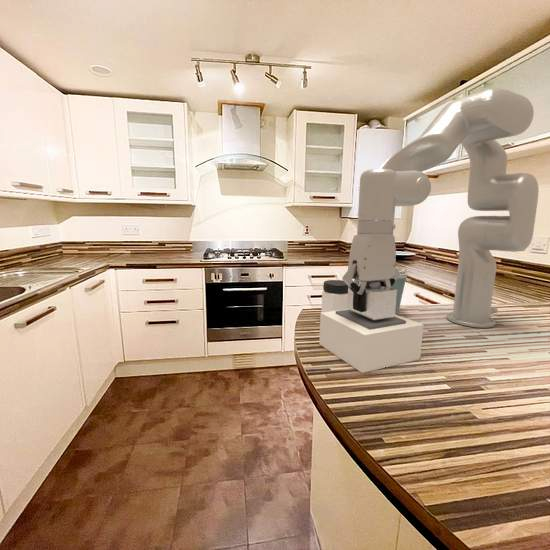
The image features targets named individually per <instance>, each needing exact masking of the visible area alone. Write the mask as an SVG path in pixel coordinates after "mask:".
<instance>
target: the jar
mask: <svg viewBox="0 0 550 550" xmlns="http://www.w3.org/2000/svg"><path fill="white" fill-rule="evenodd" d="M322 286H323V287H322V288H323V289H322V291H321V292H322V293H321V313H323V312H330V311H338V310H345V309H347V304H348V286H347V284H346V283H345V282H344V281H343V279H329V280H324V282H323V285H322Z"/></svg>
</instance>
